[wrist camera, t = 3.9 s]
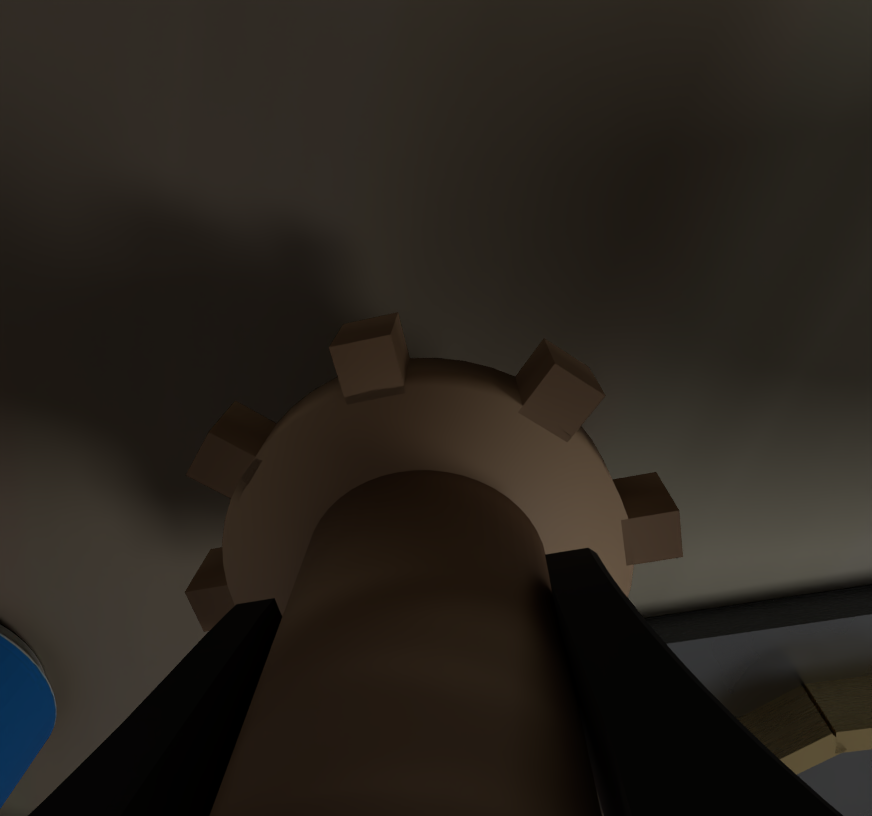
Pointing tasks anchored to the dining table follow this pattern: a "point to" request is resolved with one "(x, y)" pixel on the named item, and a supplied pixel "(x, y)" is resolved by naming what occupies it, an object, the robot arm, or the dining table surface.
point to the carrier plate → (793, 682)
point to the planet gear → (417, 582)
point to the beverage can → (21, 710)
